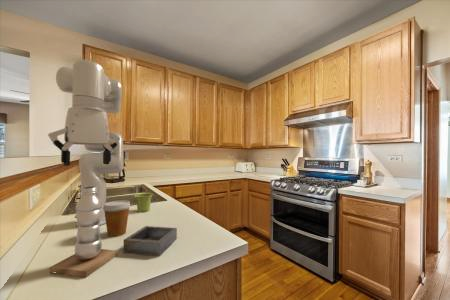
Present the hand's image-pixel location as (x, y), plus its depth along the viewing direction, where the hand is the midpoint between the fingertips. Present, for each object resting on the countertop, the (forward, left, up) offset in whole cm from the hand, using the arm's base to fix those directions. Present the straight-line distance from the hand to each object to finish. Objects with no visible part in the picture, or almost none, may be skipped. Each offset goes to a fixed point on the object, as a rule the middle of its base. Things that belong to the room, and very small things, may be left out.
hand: (87, 164), depth 57 cm
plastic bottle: (0, 0, -27) cm, 27 cm away
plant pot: (-14, +51, -28) cm, 60 cm away
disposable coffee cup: (-6, +20, -28) cm, 35 cm away
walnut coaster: (0, 0, -28) cm, 28 cm away
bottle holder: (+13, +13, -28) cm, 34 cm away
